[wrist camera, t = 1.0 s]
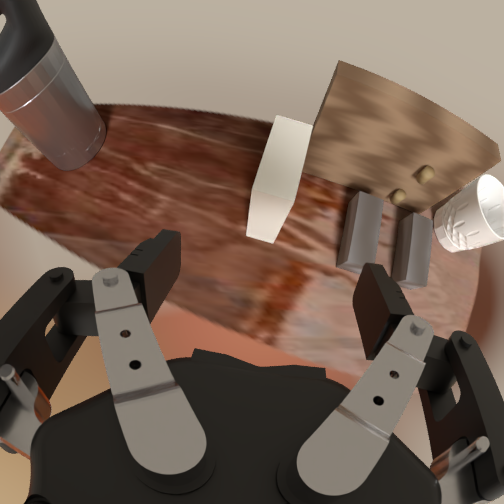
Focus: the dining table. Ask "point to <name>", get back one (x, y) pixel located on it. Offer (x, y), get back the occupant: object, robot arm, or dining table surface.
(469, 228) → the white cup
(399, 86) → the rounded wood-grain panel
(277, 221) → the plain white rectangular block
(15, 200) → the dining table surface
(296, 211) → the dining table surface
